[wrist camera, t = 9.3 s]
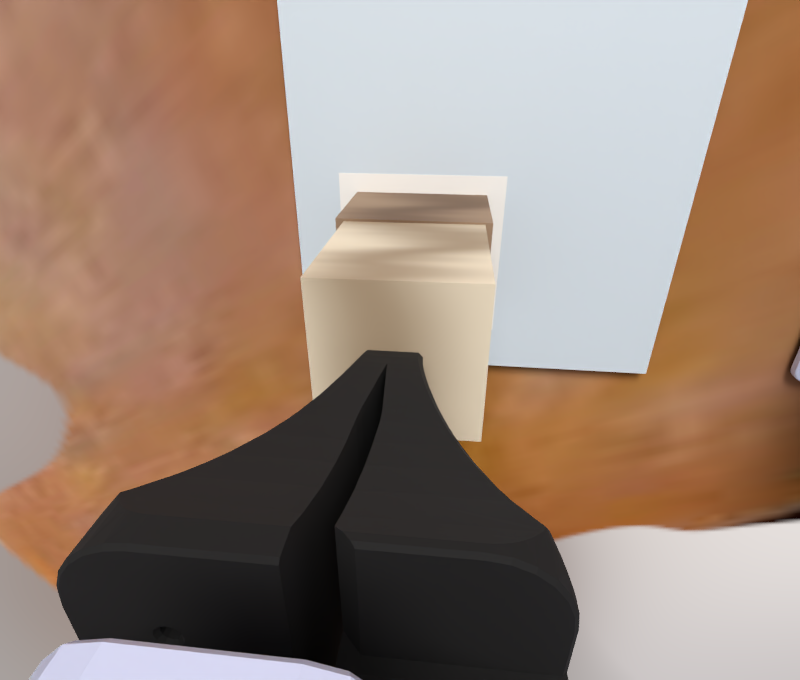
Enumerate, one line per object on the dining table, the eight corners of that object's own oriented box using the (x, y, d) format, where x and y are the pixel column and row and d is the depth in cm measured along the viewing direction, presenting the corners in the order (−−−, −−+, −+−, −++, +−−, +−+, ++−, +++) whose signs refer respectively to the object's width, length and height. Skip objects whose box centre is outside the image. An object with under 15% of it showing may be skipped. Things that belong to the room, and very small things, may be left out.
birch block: (485, 224, 16) (495, 284, 11) (475, 350, 18) (481, 441, 13) (343, 221, 16) (300, 277, 12) (350, 344, 18) (316, 431, 14)
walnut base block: (486, 195, 19) (493, 223, 16) (477, 314, 22) (480, 361, 18) (357, 191, 20) (335, 218, 16) (361, 308, 22) (343, 354, 18)
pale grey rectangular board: (848, -411, 12) (866, -433, 12) (641, 366, 23) (645, 373, 22) (250, -365, 14) (241, -384, 13) (313, 349, 24) (310, 355, 23)
